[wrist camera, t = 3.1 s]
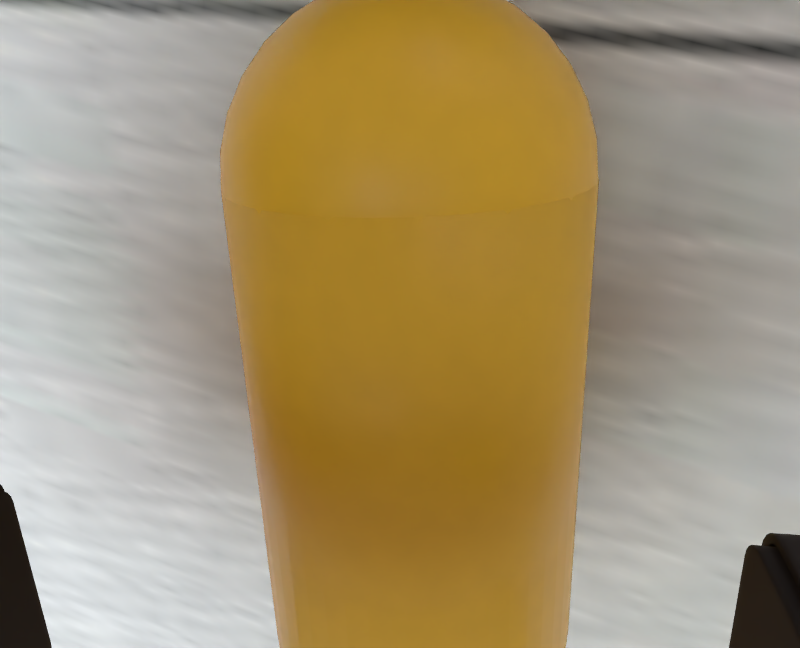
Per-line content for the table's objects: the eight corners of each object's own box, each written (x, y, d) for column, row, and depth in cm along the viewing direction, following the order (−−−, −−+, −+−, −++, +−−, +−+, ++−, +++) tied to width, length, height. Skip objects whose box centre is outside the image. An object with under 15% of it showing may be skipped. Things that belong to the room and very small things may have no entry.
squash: (276, -2, 13) (104, -39, 8) (592, -19, 12) (647, -75, 7) (331, 620, 18) (253, 850, 13) (553, 643, 18) (566, 901, 12)
